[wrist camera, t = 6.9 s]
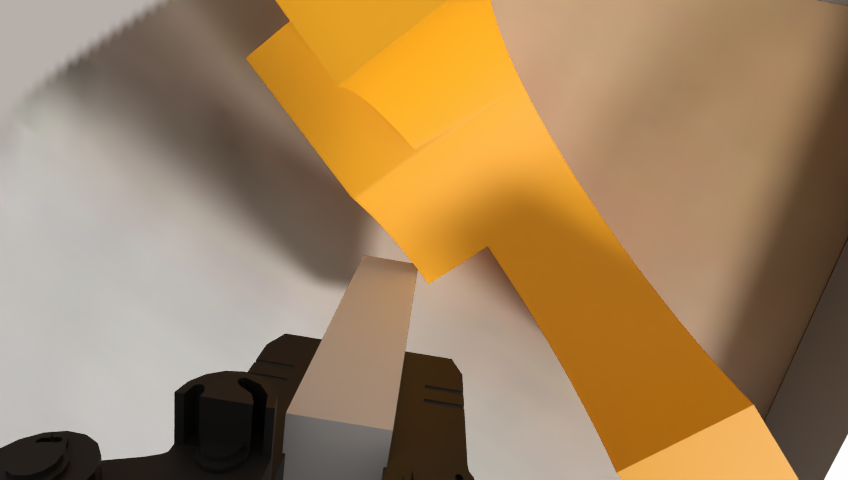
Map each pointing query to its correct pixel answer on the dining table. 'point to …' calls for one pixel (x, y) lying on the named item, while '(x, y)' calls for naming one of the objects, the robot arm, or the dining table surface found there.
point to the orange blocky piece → (507, 218)
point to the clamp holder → (818, 387)
